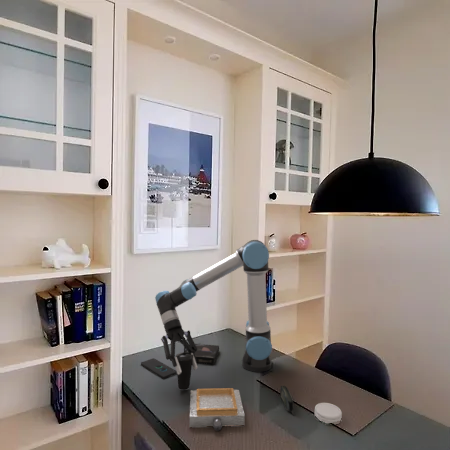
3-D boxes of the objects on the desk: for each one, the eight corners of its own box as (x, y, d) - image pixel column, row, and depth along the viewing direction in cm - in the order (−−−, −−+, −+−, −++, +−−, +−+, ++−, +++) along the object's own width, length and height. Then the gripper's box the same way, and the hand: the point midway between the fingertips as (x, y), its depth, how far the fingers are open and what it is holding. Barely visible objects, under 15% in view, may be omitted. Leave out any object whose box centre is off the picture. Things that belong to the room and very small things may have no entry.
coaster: (347, 421, 130) (347, 412, 130) (328, 429, 125) (328, 419, 125) (327, 408, 139) (327, 399, 138) (309, 414, 134) (309, 406, 133)
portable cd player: (219, 352, 191) (219, 345, 191) (213, 365, 174) (213, 358, 174) (190, 349, 193) (190, 342, 193) (182, 362, 176) (182, 355, 176)
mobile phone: (279, 384, 147) (289, 403, 132) (286, 384, 147) (296, 402, 132) (279, 395, 147) (288, 416, 132) (285, 395, 147) (296, 415, 132)
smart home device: (163, 376, 158) (140, 362, 172) (163, 380, 158) (139, 365, 172) (177, 371, 164) (154, 357, 178) (177, 374, 164) (153, 360, 178)
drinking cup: (189, 392, 144) (190, 345, 143) (172, 390, 145) (173, 343, 144) (194, 383, 151) (196, 339, 150) (178, 381, 153) (179, 337, 152)
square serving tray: (238, 399, 143) (238, 386, 143) (245, 431, 122) (245, 416, 122) (190, 399, 141) (190, 386, 141) (189, 432, 120) (189, 417, 120)
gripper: (187, 322, 165) (204, 368, 153) (148, 330, 154) (163, 380, 141) (193, 314, 161) (211, 361, 148) (153, 322, 150) (169, 373, 137)
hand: (187, 371), depth 145 cm, fingers closed on drinking cup, 7 cm apart
